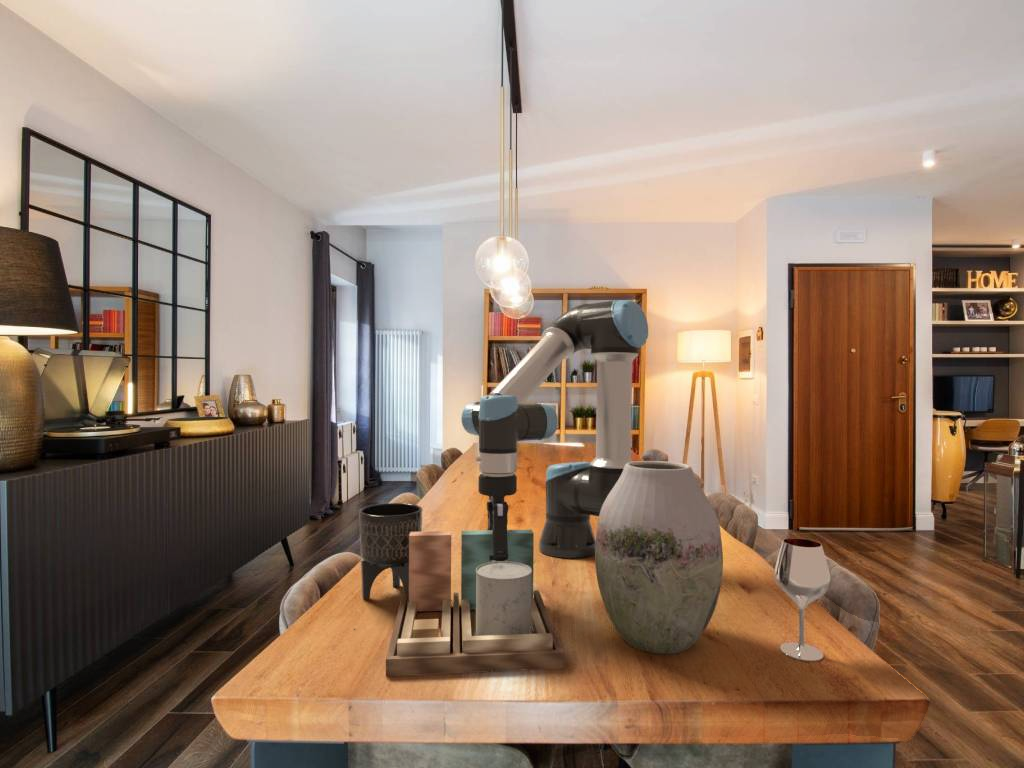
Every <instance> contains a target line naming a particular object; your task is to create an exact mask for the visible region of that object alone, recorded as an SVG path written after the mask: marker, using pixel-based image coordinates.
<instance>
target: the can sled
mask: <svg viewBox="0 0 1024 768" xmlns="http://www.w3.org/2000/svg"><path fill="white" fill-rule="evenodd" d="M534 535H535V534H534V531H533V530H532V529H507V542H508V555H509V557H508V559H507V561H512V562H519V563H523V564H526V565H528V566H529V567H531V569H532V573H531V631H532V632H533V633H531V634H515V635H488V636H476V635H472V626H471V625H472V624H471V611H473V610H475V611H476V568H477V567H478V566H480V565H482V564H485V563H489V562H492V560H489V557H490V555H493V534H492V530H487V529H486V530H461V535H460V536H461V540H460V541H461V543H460V544H461V548H460V549H461V550H460V551H461V553H460V554H461V555H460V556H461V557H460V558H461V559H460V560H461V561H460V563H461V564H460V566H461V567H460V571H461V572H460V574H461V575H460V582H461V583H460V587H461V588H460V590H461V591H460V608H461V609H460V613H461V648H462V650H461V651H462V652H461V653H480V652H505V651H531V650H553V637H552V634H551V633H546V631H545V628H544V625H543V623H542V620H541V617H540V614H539V612H538V609H537V606H536V604H535V601H534V553H535V552H534V538H535V537H534ZM501 552H503V551H498V552H497V553H501Z"/></svg>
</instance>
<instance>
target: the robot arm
mask: <svg viewBox="0 0 1024 768" xmlns="http://www.w3.org/2000/svg"><path fill="white" fill-rule="evenodd" d="M540 338H541V339H540V340H539V341H538V342H537V343H536V344H535V345H534V347H532V349H530V351H528V352H527V354H526V355H525V356H524V357H523V358H522V359H520V361H518V363H517V364H516V365H515V366H514V367H513V369H512V370H511V371H510V372H508V374H507V375H506V376H505V377H504V378H503V379H502V380H500V382H499V384H497V385H496V387H494V388H493V389H492V390H491V392H490V393H489V394H488V395H487V394H485V395H483V396H482V397H480V400H479V401H475V402H470V403H468V404H467V405H465V407H464V409H463V410H462V413H461V419H460V420H461V424H462V427H463V429H464V431H465V432H466V433H468V434H470V435H474V436H478V455H479V456H475V462H479V463H478V472H480V474H479V475H478V484H477V485H478V493H479V494H480V495H483V496H485V497H488V501H487V502H486V511H487V519H488V521H487V528H486V530H492V534H493V555H490V557H489V560H492V562H496V561H507V559H508V557H509V555H508V542H507V530H508V518H509V517H508V513H509V504H508V502H507V501H505V497H506V496H513V495H516V493H517V491H518V490H517V488H518V487H517V482H518V481H517V480H518V478H517V475H516V474H515V473H517V471H518V442H524V441H537V440H538V441H542V440H545V439H549V438H550V437H553V436H554V434H556V431H557V429H558V426H559V424H558V423H559V419H558V415H557V412H556V410H555V409H554V408H553V407H552V406H550V405H548V404H542V403H534V404H533V403H532V404H529V403H528V404H527V403H526V402H527V401H528V400H529V399H530V397H531V396H532V395H534V393H535V392H536V391H537V390H538V389H539V387H540V386H541V385H542V384H543V383H544V382H545V381H546V380H547V378H548V377H549V376H550V375H551V374H552V373H553V372H554V370H555V369H556V368H557V367H559V365H560V364H561V363H562V362H563V361H564V360H567V359H570V358H571V357H572V356H573V355H574V354H575V353H577V352H579V351H582V350H588V349H589V350H590V356H591V357H592V358H593V359H594V360H595V361H596V405H595V406H596V412H595V413H596V417H595V418H596V422H595V427H596V428H595V457H594V458H593V459H592V461H590V462H589V461H574V462H572V461H571V462H562V463H561V462H560V463H556V464H552V465H549V466H548V467H547V468H546V475H545V522H544V525H543V528H542V532H541V535H540V537H539V540H538V541H539V542H538V543H539V544H538V551H539V552H540V553H542V554H544V555H547V556H551V557H553V558H554V557H556V558H565V559H578V558H579V559H580V558H585V557H590V556H592V555H595V544H596V536H595V534H594V530H593V527H592V524H591V516H593V517H598V518H599V514H600V511H601V508H602V506H603V503H604V501H605V500H606V498H607V496H608V495H609V493H610V492H611V490H612V489H613V487H614V486H615V484H616V483H617V481H618V479H619V478H620V476H621V474H622V472H623V469H624V466H625V464H627V463H629V462H634V460H633V459H632V456H631V454H632V452H631V451H632V447H631V446H632V381H633V380H632V379H633V375H632V374H633V371H632V370H633V369H632V368H633V361H634V360H635V359H636V358H637V357H638V356H639V348H641V347H643V346H644V345H645V344H646V343H647V340H648V338H649V325H648V319H647V316H646V314H645V312H644V310H643V308H642V307H641V306H640V304H639V303H637V302H636V301H634V300H631V299H626V300H625V299H624V300H621V299H615V300H610V301H603V302H593V303H583V304H580V305H577V306H574V307H572V308H570V309H568V310H567V311H565V312H564V313H563V314H561V315H560V316H558V317H557V318H556V319H554V321H552V322H551V323H550V324H549V325H548V326H547V327H546V328H545V329H544V330H543V331H542V334H541V337H540ZM498 551H503V552H501V553H497V552H498Z"/></svg>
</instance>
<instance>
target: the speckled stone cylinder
mask: <svg viewBox="0 0 1024 768" xmlns="http://www.w3.org/2000/svg"><path fill="white" fill-rule="evenodd" d="M531 573H532V569H531V567H529V566H528V565H526V564H523V563H519V562H512V561H496V562H489V563H485V564H482V565H480V566H478V567H477V568H476V610H475V636H488V635H515V634H532V627H531Z"/></svg>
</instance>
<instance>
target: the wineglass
mask: <svg viewBox="0 0 1024 768" xmlns="http://www.w3.org/2000/svg"><path fill="white" fill-rule="evenodd" d="M774 566H775V568H774V578H775V581H776V583H777V585H778V586H779V588H780V589H781V590H782V592H783V593H785V595H787V596H788V598H790V599H791V601H793V602H794V603H795V605H796V606H797V608H798V642H797V641H796V642H793V641H792V642H791V641H789V642H783V643H782V644H781V645H780V646H779V649H780V651H781V652H782V653H783V654H784V655H785V656H787V657H790V658H792V659H794V660H798V661H804V662H818V661H821V660H823V659H824V653H823V652H822V651H821V650H820V649H818V648H817V647H815V646H812V645H809V644H807V643H805V642H806V641H805V611H806V608H807V607H808V606H809V605H810V604H813V603H814V602H815V601H816V600H819V599H820V598H821V597H823V596H824V595H825V594H826V593H827V591H828V590H829V588H830V586H831V574H830V569H829V566H828V562H827V557H826V555H825V552H824V547H823V545H822V543H821V542H819V541H815V540H812V539H809V538H808V539H806V538H799V537H798V538H797V537H795V538H794V537H789V538H787V537H786V538H784V539H783V540H782V541H781V546H780V549H779V552H778V555H777V559H776V563H775V565H774Z"/></svg>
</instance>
